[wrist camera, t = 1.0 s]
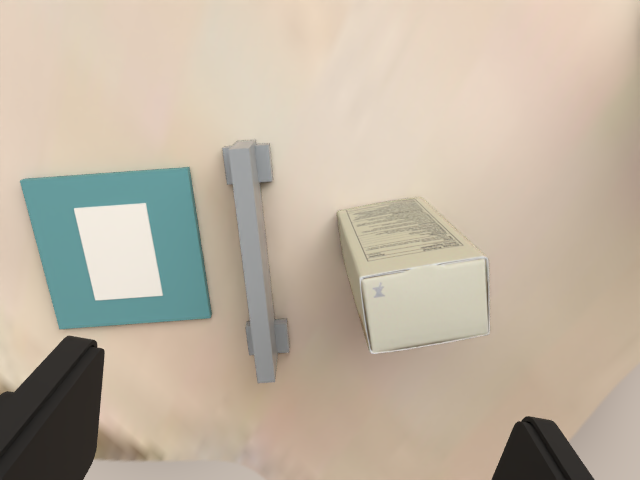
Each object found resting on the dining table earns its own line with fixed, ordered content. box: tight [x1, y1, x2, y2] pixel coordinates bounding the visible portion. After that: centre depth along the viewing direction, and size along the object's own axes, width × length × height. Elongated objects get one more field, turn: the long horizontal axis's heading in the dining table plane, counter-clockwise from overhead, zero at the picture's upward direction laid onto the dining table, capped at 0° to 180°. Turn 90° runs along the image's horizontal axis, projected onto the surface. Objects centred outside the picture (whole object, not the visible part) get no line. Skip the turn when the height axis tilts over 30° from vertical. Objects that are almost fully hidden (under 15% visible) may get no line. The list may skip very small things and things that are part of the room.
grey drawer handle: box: [222, 140, 290, 383], centre depth 33 cm, size 3×16×4 cm, turn 4°
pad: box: [20, 167, 212, 329], centre depth 34 cm, size 11×11×1 cm
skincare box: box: [337, 197, 490, 354], centre depth 29 cm, size 6×4×12 cm
